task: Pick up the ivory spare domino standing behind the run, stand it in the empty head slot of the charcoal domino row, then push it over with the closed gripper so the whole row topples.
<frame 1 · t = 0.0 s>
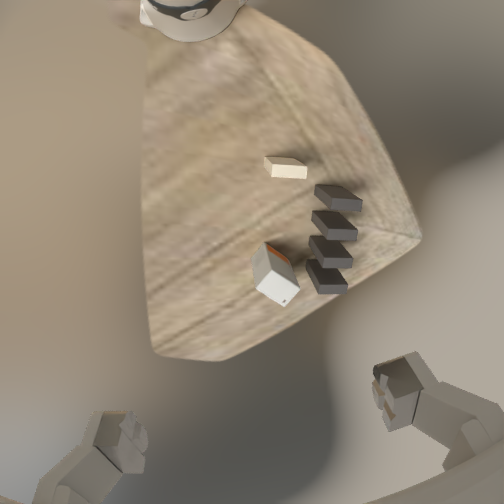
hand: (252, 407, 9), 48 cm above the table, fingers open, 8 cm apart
domino 2: (328, 190, 56), on the table
skincare box: (269, 257, 61), on the table
domino 4: (321, 240, 60), on the table
domino 5: (318, 264, 62), on the table
domino 1: (279, 162, 54), on the table
domino 3: (325, 216, 58), on the table
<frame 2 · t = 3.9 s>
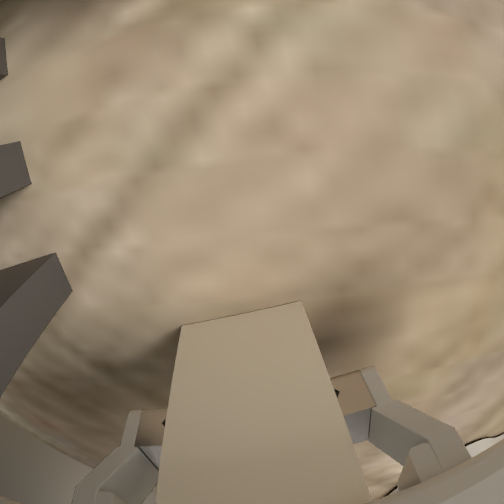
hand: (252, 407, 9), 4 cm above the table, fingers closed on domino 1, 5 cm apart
domino 2: (24, 282, 12), on the table
domino 1: (245, 331, 13), on the table, touching gripper
when the fingers open (5 cm above the table, at t = 10.1 s): domino 1 stays where it is, on the table.
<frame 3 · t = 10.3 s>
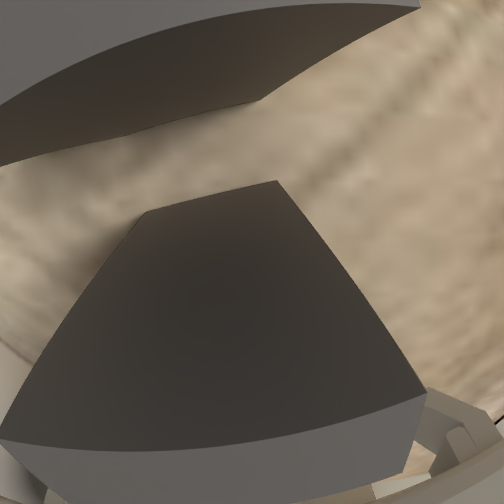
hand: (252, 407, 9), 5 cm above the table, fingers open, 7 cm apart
domino 2: (215, 218, 12), on the table
domino 1: (245, 322, 14), on the table
domino 3: (184, 92, 10), on the table
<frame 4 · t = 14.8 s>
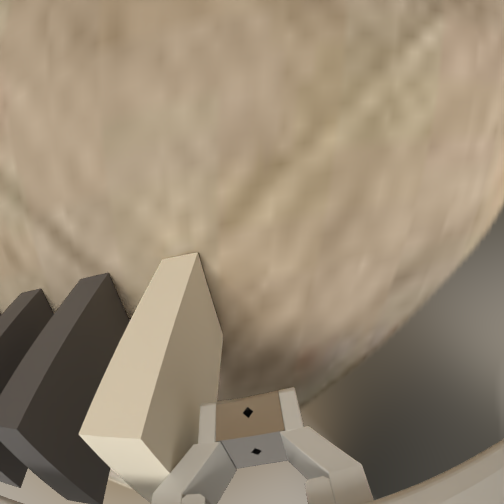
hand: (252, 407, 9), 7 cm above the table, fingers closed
domino 2: (112, 315, 16), on the table
domino 1: (194, 300, 16), on the table
domino 3: (48, 326, 16), on the table
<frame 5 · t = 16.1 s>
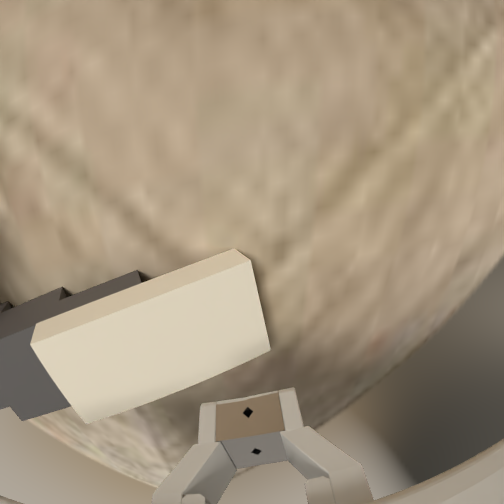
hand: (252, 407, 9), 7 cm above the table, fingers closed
domino 2: (156, 320, 15), point 1 cm above the table, tilted 68°, touching domino 1, domino 3
domino 1: (253, 301, 15), point 1 cm above the table, tilted 68°, touching domino 2
domino 3: (80, 332, 15), point 1 cm above the table, tilted 68°, touching domino 2, domino 4
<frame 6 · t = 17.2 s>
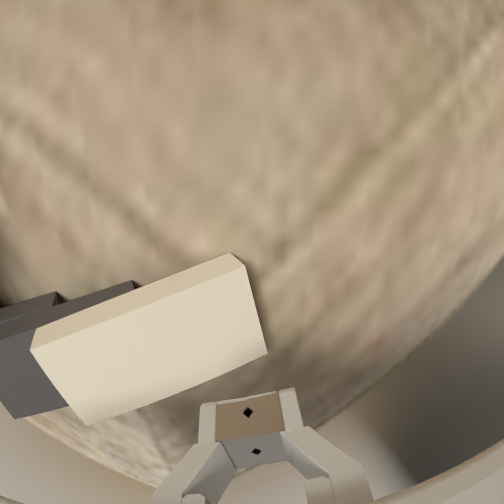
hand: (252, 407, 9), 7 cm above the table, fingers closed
domino 2: (149, 329, 15), point 1 cm above the table, tilted 69°, touching domino 1, domino 3
domino 1: (249, 305, 15), point 1 cm above the table, tilted 69°, touching domino 2
domino 3: (70, 336, 15), point 1 cm above the table, tilted 69°, touching domino 2, domino 4
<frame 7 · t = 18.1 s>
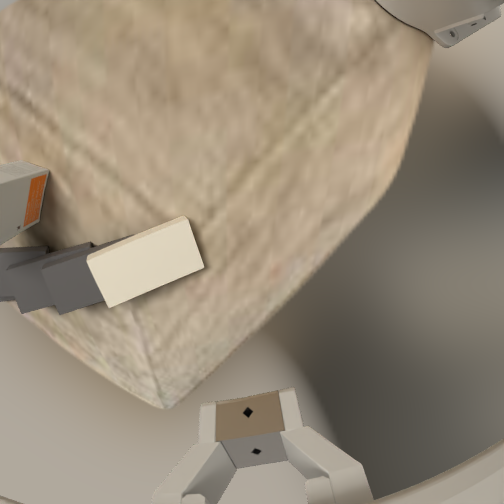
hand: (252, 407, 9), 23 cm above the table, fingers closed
domino 2: (141, 260, 31), point 1 cm above the table, tilted 70°, touching domino 1, domino 3
skincare box: (31, 189, 28), on the table
domino 4: (49, 270, 30), point 1 cm above the table, tilted 71°
domino 1: (193, 241, 30), point 1 cm above the table, tilted 71°, touching domino 2
domino 3: (96, 266, 30), point 1 cm above the table, tilted 70°, touching domino 2
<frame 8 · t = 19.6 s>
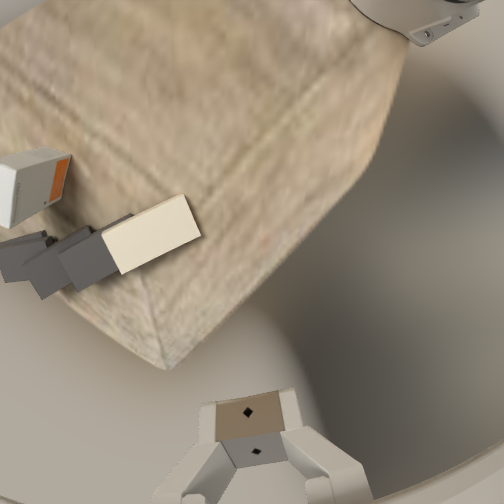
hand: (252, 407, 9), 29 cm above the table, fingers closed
domino 2: (139, 233, 36), point 1 cm above the table, tilted 67°, touching domino 1, domino 3
skincare box: (54, 171, 33), on the table
domino 4: (53, 256, 35), point 2 cm above the table, tilted 90°, touching domino 3, domino 5
domino 5: (49, 248, 37), on the table, tilted 90°, touching domino 4
domino 1: (190, 214, 36), point 1 cm above the table, tilted 72°, touching domino 2
domino 3: (96, 243, 36), point 1 cm above the table, tilted 66°, touching domino 2, domino 4
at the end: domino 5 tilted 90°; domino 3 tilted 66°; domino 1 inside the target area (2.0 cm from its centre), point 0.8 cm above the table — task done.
